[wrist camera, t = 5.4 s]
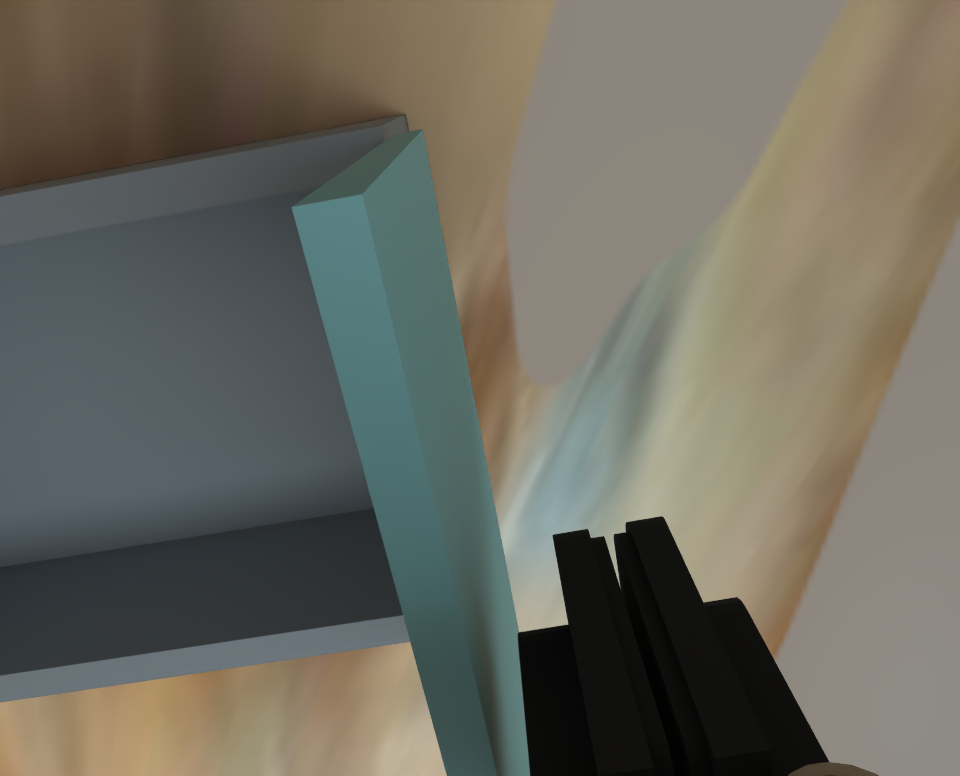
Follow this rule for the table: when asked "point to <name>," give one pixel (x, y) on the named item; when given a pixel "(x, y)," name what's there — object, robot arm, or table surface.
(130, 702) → the table surface
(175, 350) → the box
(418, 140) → the flap
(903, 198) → the table surface
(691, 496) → the table surface
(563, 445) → the table surface
